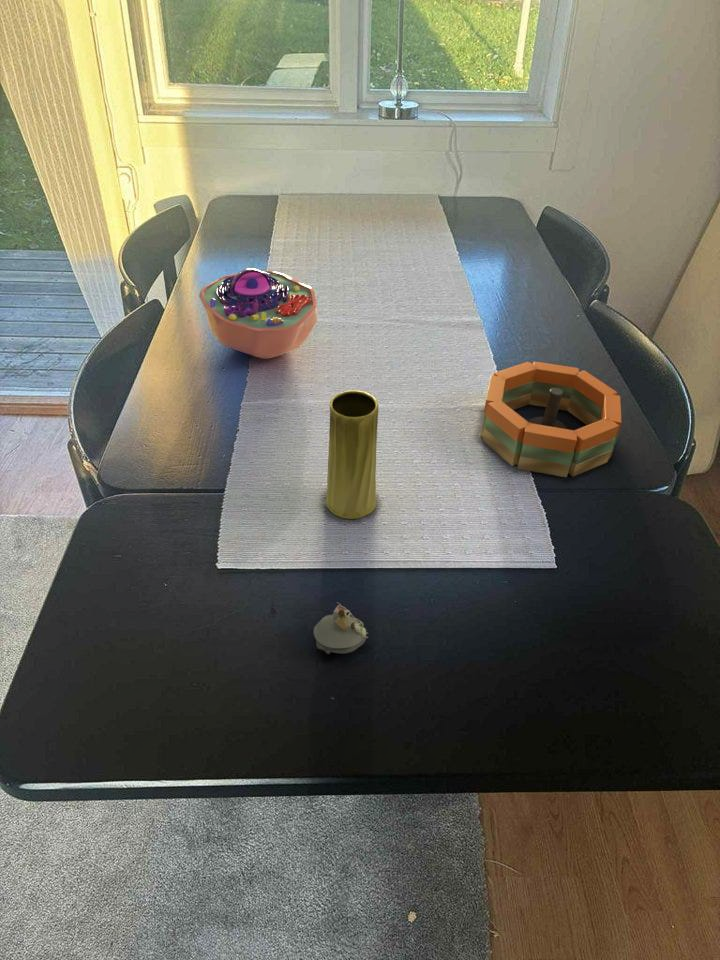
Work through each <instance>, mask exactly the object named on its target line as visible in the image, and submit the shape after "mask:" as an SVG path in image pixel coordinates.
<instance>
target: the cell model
mask: <svg viewBox="0 0 720 960" xmlns="http://www.w3.org/2000/svg"><path fill="white" fill-rule="evenodd" d="M315 292H316V291H315V290H314V289H313V287H312V286H310V285H307V284H305V283H303V282H300V281H298V280H296V279H294V278H292V277H291V276H289V275H287V274H285V273H281V272H277V271H272V270H263V269H257V268H252V267H251V268H250V267H249V268H244V269H242V270H240V271H238V272H235V273H232V274H226V275H224V276H221V277H219V278H217V279H215V280H214V281H212V282H211V283H209V284H207V285H205V286H203V287H202V289H201V290H200V292H199V294H198V295H199V296H198V297H199V300H200V301H201V304H202V306H203V308H204V311H205V316H206V322H207V324H208V327H209V329H210V331H211V333H212V335H213V336H214V338H215V339H216V340H217V341H218V342H219V344H221V345H222V346H224V347H226V348H229V349H232V350H235V351H238V352H240V353H243V354H247V355H250V356H253V357H255V358H258V359H264V360H265V359H266V360H267V359H273V358H277V357H280V356H283V355H285V354H288V353H291V352H293V351H296V350H297V349H299V348H300V347H301V346H302V345H303V344H304V343H305V342H306V340H307V339H308V337H309V336H310V334H311V332H312V331H313V330H314V328H316V325H317V323H318V309H317V300H316V299H317V298H316V293H315Z"/></svg>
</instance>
